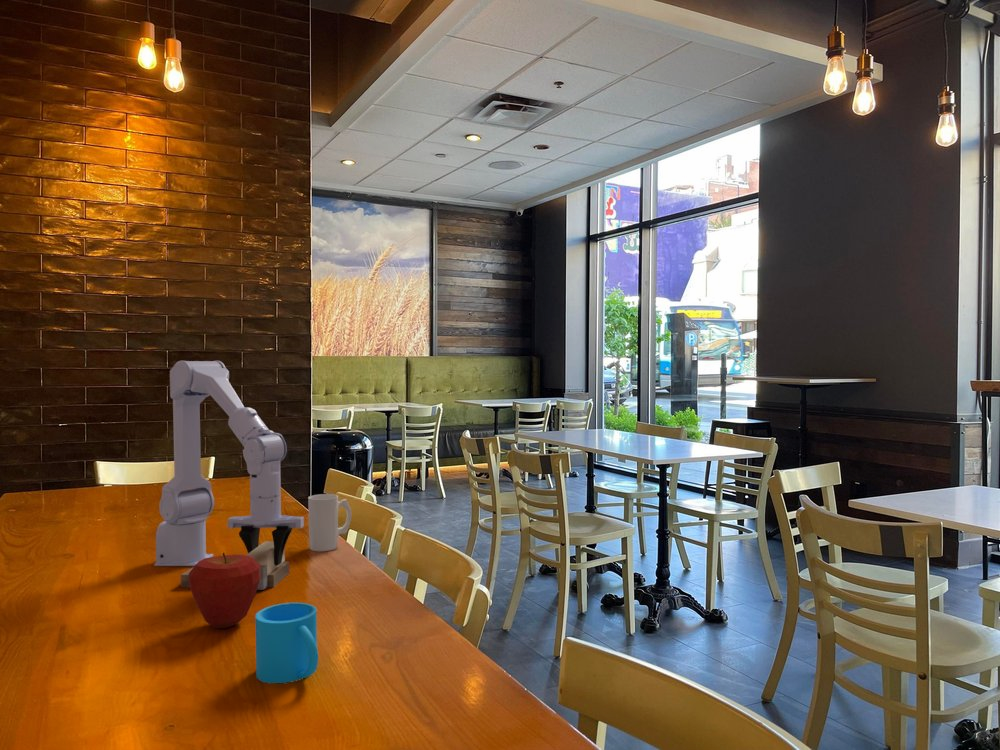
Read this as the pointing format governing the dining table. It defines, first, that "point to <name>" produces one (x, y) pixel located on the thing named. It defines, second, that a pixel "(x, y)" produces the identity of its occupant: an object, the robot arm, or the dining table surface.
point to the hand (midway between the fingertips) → (266, 564)
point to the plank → (271, 578)
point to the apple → (224, 588)
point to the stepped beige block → (265, 561)
